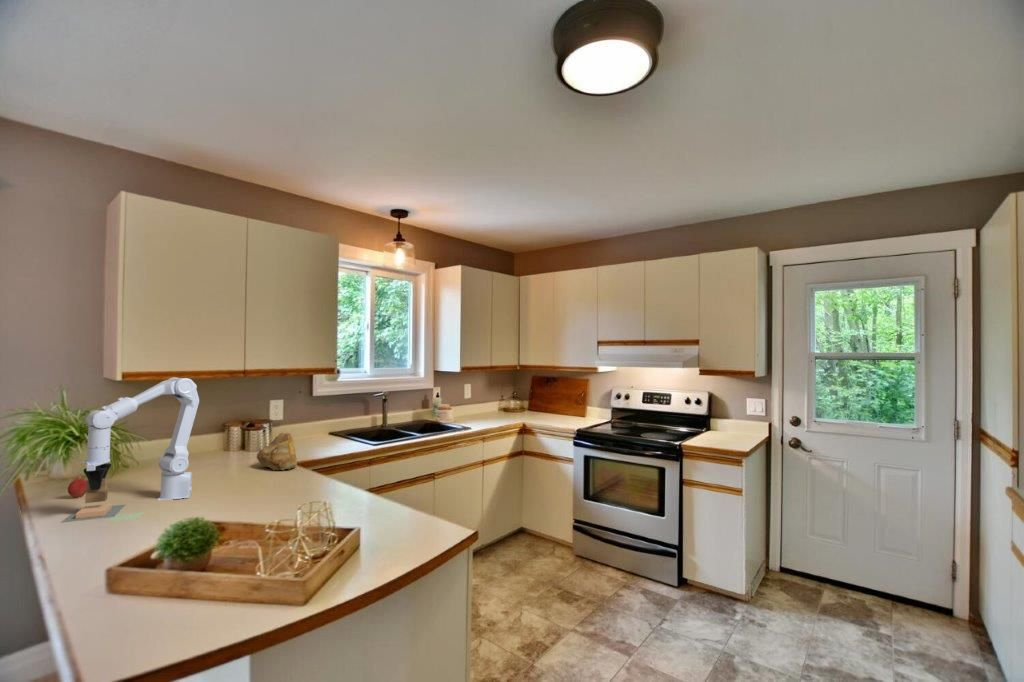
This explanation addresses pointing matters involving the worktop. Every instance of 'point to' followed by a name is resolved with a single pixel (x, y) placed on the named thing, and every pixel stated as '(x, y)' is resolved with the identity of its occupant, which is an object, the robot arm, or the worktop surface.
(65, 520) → the mat
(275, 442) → the rough brown rock
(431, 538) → the worktop surface
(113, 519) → the rest pad
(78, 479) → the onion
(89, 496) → the walnut block
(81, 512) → the tile
